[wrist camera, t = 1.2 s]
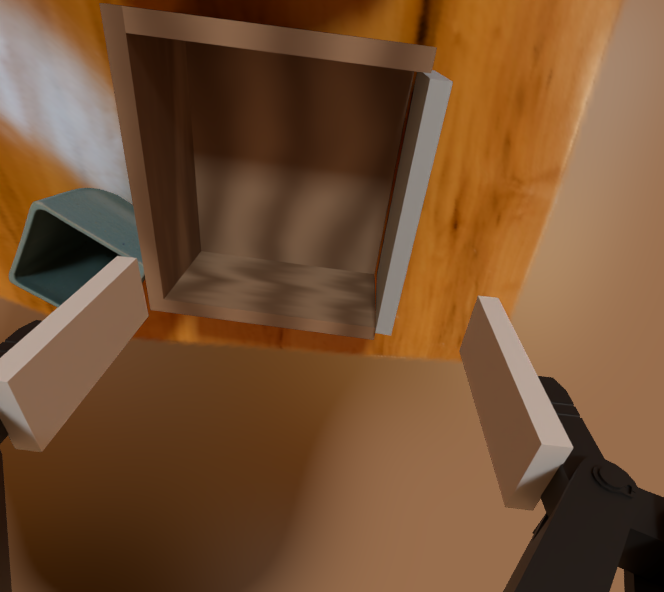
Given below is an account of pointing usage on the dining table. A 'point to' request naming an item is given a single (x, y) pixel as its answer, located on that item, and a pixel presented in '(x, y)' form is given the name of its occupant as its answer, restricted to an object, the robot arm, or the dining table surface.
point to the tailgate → (409, 191)
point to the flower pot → (73, 242)
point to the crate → (259, 164)
